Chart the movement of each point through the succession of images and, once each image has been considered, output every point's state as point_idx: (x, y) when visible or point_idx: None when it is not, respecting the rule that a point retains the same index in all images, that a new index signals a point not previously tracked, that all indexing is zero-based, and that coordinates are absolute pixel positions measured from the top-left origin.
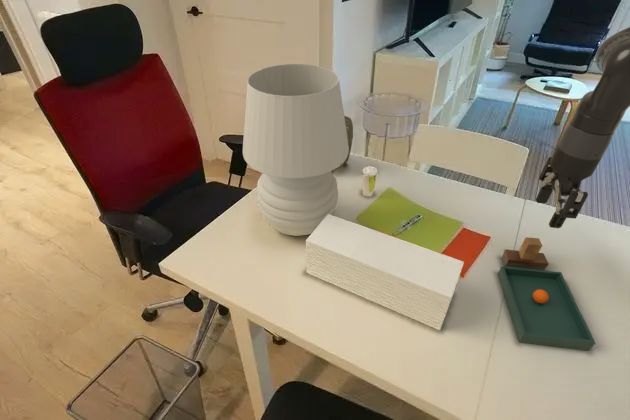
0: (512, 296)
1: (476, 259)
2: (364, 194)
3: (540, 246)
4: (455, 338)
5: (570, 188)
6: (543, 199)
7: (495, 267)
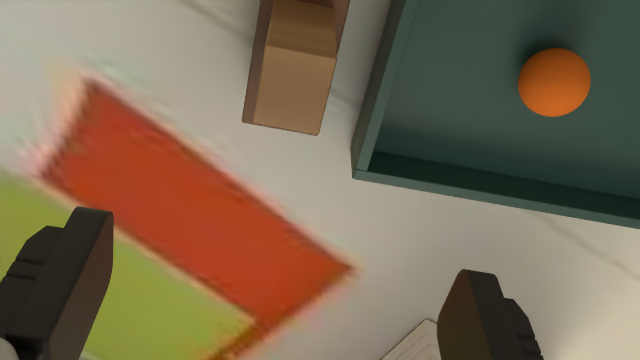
0: (527, 205)
1: (258, 195)
2: None
3: (334, 61)
4: (581, 350)
5: None
6: (99, 268)
7: (309, 140)
